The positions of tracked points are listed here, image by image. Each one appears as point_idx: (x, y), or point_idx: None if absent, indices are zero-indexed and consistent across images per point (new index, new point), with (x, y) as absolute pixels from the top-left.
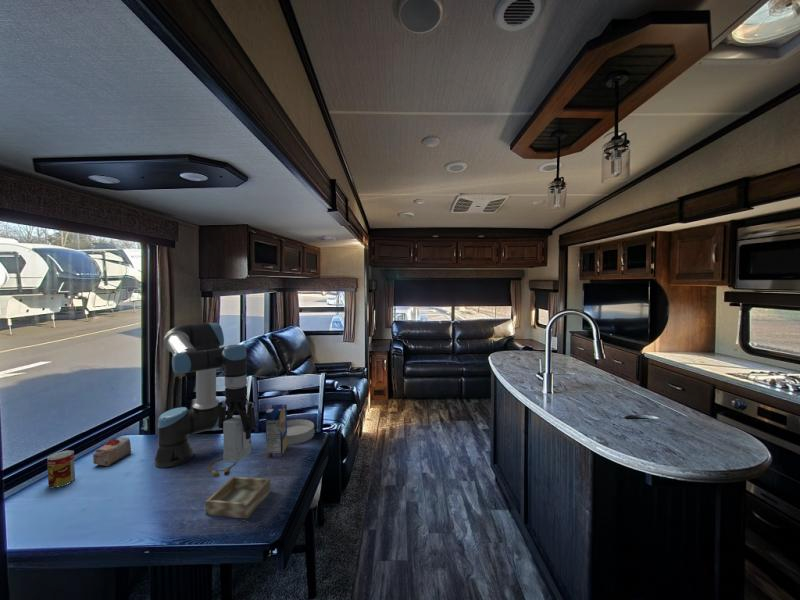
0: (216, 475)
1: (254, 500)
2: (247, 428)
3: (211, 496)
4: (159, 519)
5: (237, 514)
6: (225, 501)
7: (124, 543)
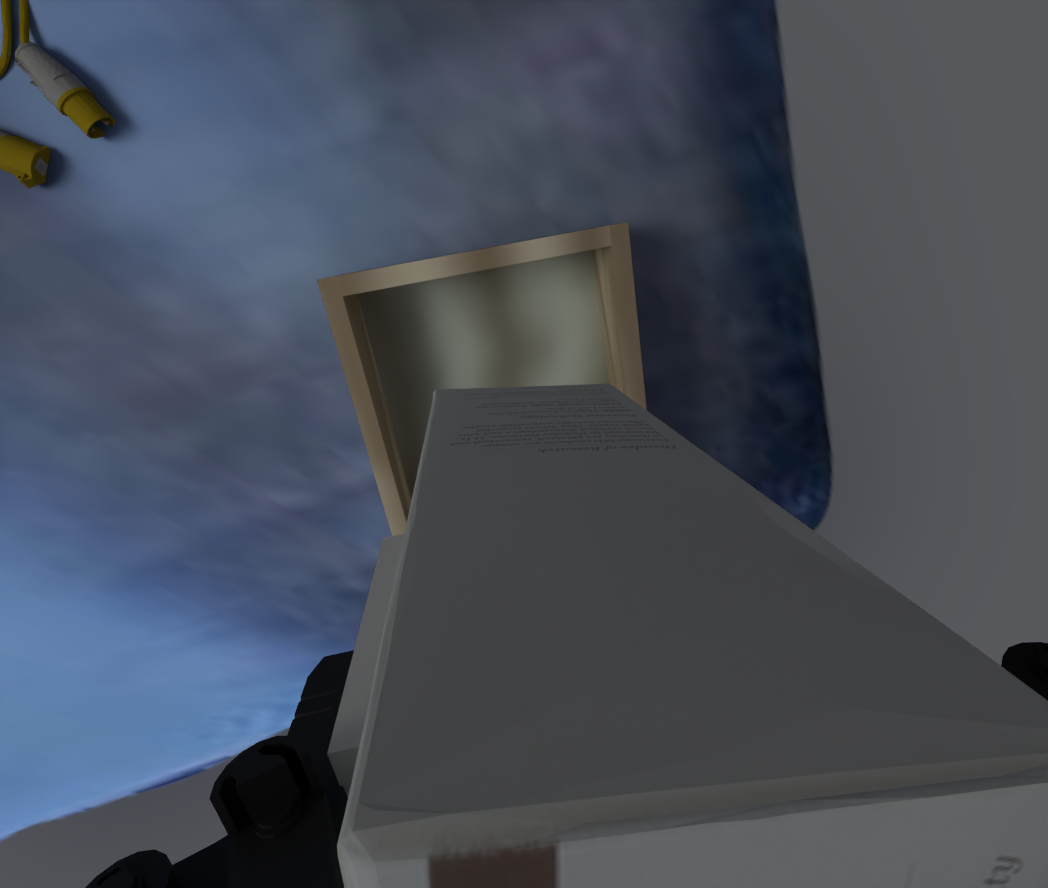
0: (43, 168)
1: None
2: None
3: (389, 511)
4: (210, 613)
5: None
6: None
7: (241, 741)
